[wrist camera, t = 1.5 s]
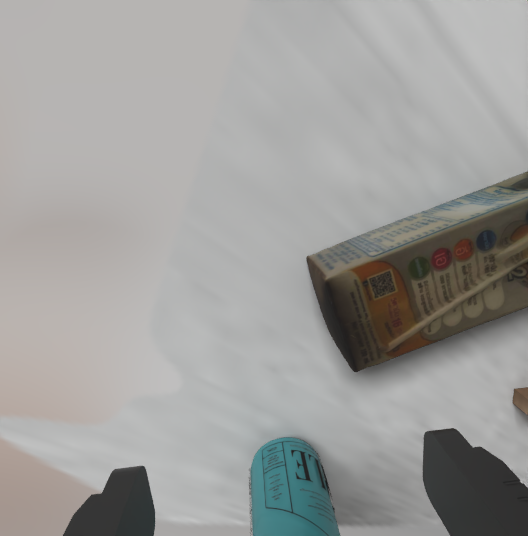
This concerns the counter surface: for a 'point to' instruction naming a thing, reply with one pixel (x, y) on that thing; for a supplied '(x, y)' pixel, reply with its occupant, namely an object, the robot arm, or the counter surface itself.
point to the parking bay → (521, 399)
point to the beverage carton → (426, 275)
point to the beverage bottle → (290, 491)
